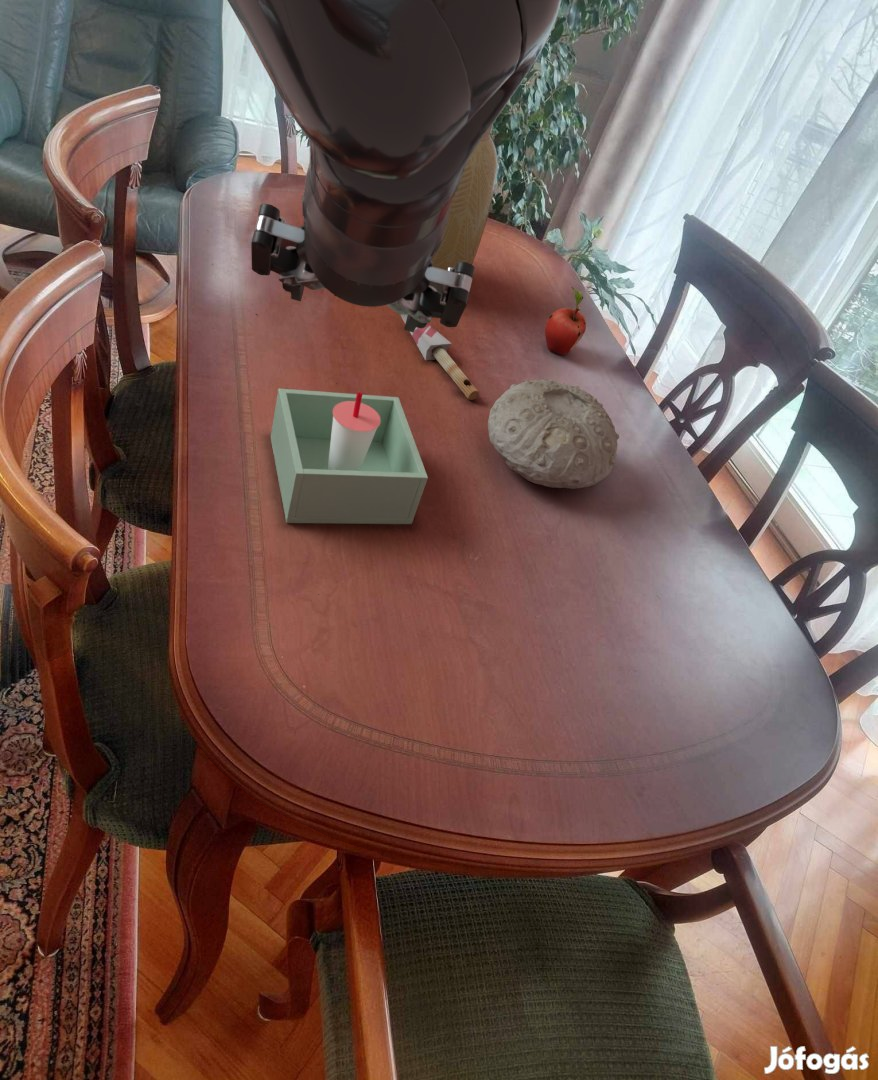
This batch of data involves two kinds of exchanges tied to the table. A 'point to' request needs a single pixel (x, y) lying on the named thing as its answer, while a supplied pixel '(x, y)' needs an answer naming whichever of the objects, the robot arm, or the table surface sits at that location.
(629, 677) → the table surface
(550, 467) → the decorative shell
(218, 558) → the table surface
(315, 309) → the table surface
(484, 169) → the vase
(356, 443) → the cup
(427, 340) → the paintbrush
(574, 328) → the apple
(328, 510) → the bin
